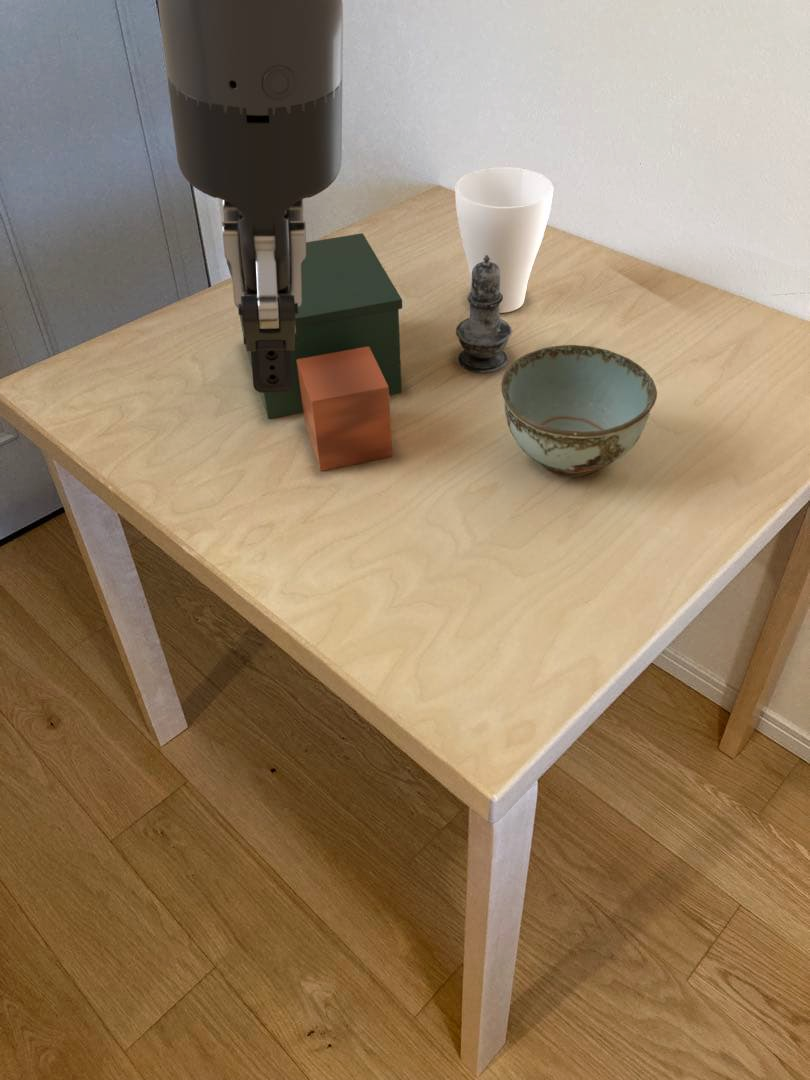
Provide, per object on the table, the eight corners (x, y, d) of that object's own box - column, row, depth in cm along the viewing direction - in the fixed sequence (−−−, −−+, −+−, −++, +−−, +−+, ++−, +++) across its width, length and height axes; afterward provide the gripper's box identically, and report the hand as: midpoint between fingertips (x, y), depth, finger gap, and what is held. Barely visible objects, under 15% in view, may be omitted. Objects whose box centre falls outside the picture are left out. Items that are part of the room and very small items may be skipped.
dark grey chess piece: (446, 352, 97) (446, 249, 89) (493, 339, 99) (498, 236, 91) (471, 380, 93) (474, 275, 85) (520, 365, 95) (528, 260, 87)
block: (320, 471, 84) (311, 401, 78) (305, 428, 88) (296, 359, 83) (392, 456, 85) (388, 386, 79) (373, 414, 90) (369, 345, 84)
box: (265, 421, 89) (249, 326, 82) (242, 345, 99) (225, 255, 92) (405, 393, 92) (402, 299, 85) (368, 322, 102) (362, 232, 95)
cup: (437, 310, 104) (437, 196, 94) (477, 270, 110) (481, 160, 100) (520, 332, 100) (529, 215, 90) (557, 290, 106) (568, 177, 97)
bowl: (616, 522, 78) (630, 450, 72) (474, 479, 82) (476, 409, 77) (659, 433, 86) (674, 363, 81) (528, 399, 91) (534, 330, 85)
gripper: (172, 7, 42) (208, 318, 55) (157, 131, 34) (204, 466, 46) (331, 11, 43) (330, 316, 56) (356, 133, 35) (348, 461, 47)
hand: (273, 384), depth 51 cm, fingers closed
